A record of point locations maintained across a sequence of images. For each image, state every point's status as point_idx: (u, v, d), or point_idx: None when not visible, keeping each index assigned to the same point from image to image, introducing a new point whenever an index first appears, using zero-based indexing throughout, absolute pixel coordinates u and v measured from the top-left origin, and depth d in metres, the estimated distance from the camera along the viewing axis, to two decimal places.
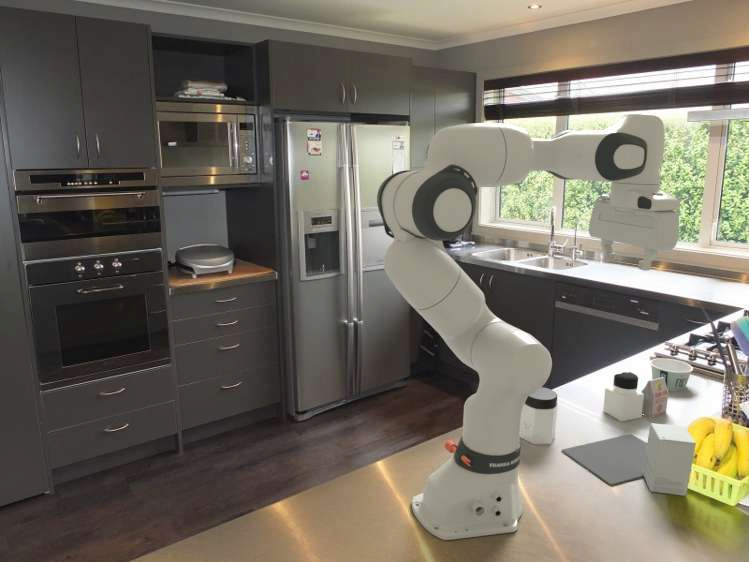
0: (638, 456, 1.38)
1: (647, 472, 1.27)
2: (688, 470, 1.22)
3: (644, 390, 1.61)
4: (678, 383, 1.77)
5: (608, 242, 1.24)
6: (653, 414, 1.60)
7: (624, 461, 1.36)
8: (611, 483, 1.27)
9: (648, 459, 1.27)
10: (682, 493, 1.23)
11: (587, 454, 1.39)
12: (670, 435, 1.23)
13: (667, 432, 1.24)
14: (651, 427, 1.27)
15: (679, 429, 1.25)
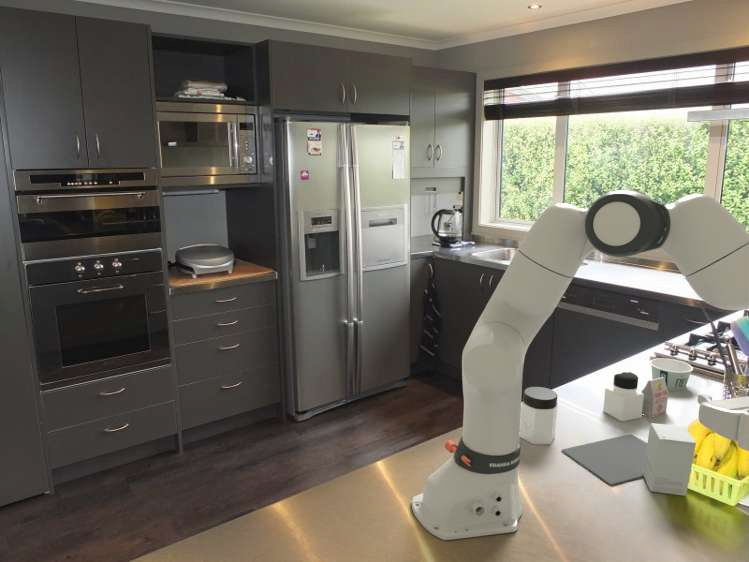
0: (638, 456, 1.38)
1: (648, 472, 1.27)
2: (688, 470, 1.22)
3: (644, 390, 1.61)
4: (678, 383, 1.77)
5: None
6: (653, 414, 1.60)
7: (624, 461, 1.36)
8: (611, 483, 1.27)
9: (648, 459, 1.27)
10: (682, 493, 1.23)
11: (587, 454, 1.39)
12: (670, 435, 1.23)
13: (667, 432, 1.24)
14: (651, 427, 1.27)
15: (679, 429, 1.26)
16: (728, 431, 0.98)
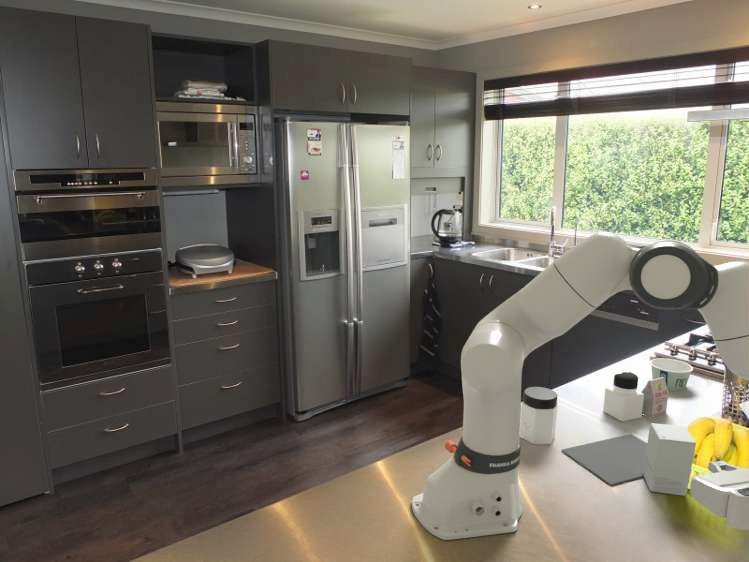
0: (638, 456, 1.38)
1: (648, 472, 1.27)
2: (688, 470, 1.22)
3: (644, 390, 1.60)
4: (678, 383, 1.77)
5: None
6: (653, 414, 1.60)
7: (624, 461, 1.36)
8: (611, 483, 1.27)
9: (648, 459, 1.27)
10: (682, 493, 1.23)
11: (587, 454, 1.39)
12: (670, 435, 1.23)
13: (667, 432, 1.24)
14: (651, 427, 1.27)
15: (679, 429, 1.26)
16: (718, 508, 1.01)
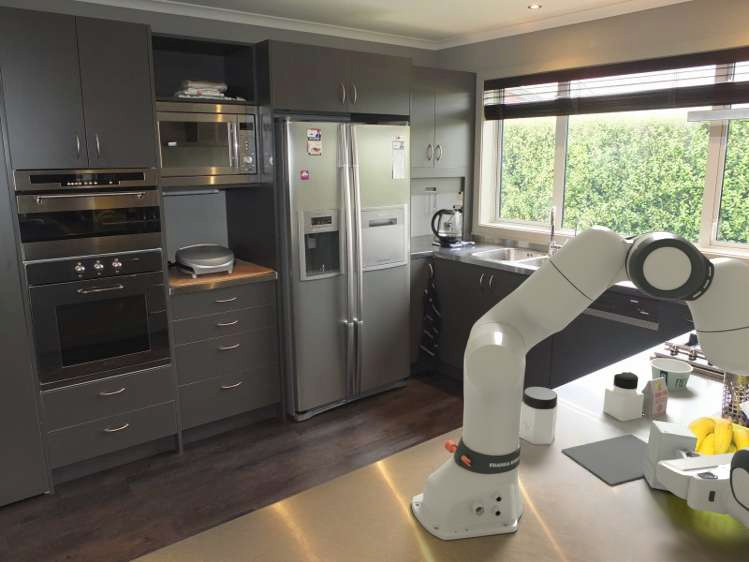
0: (638, 456, 1.38)
1: (648, 469, 1.27)
2: None
3: (644, 390, 1.61)
4: (678, 383, 1.77)
5: None
6: (653, 414, 1.60)
7: (624, 461, 1.36)
8: (611, 483, 1.27)
9: (649, 456, 1.28)
10: None
11: (587, 454, 1.39)
12: (671, 430, 1.24)
13: (669, 428, 1.25)
14: (653, 424, 1.28)
15: (680, 426, 1.27)
16: (680, 490, 1.09)
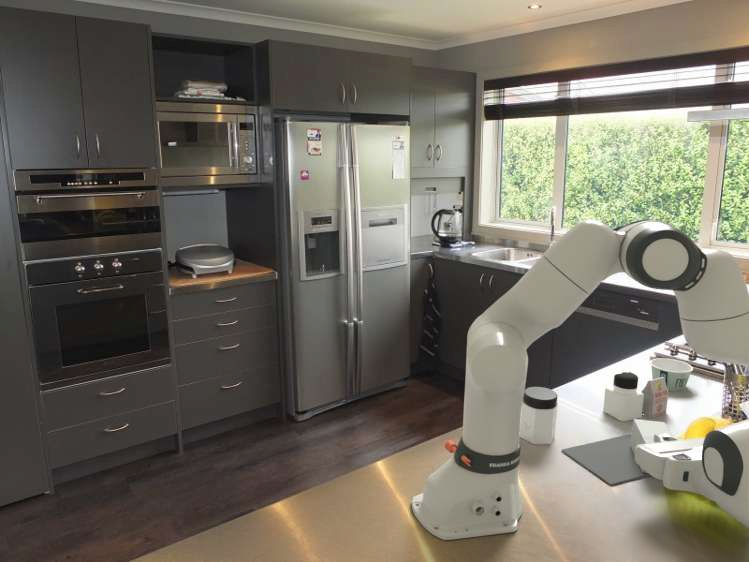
0: None
1: None
2: (670, 434, 1.34)
3: (644, 390, 1.61)
4: (678, 383, 1.77)
5: None
6: (653, 414, 1.60)
7: (624, 461, 1.36)
8: (611, 483, 1.27)
9: None
10: None
11: (587, 454, 1.39)
12: None
13: None
14: (630, 442, 1.42)
15: None
16: (656, 471, 1.16)
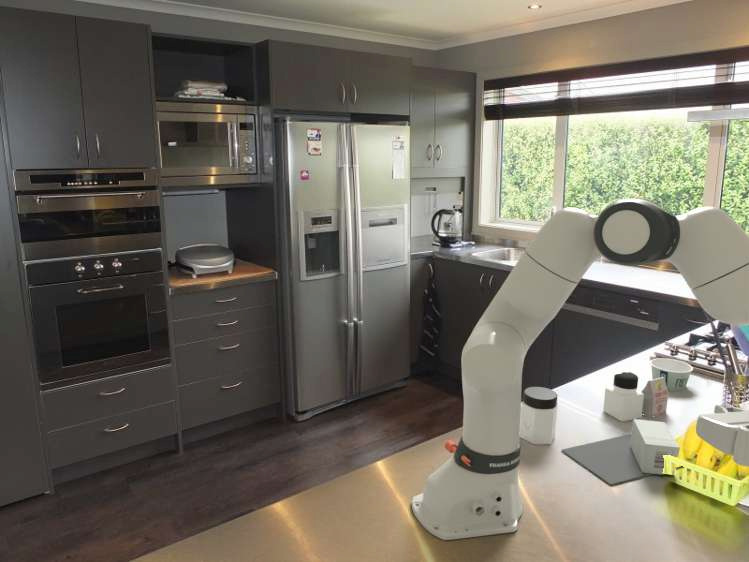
0: None
1: (640, 450, 1.33)
2: (669, 434, 1.34)
3: (644, 390, 1.61)
4: (678, 383, 1.77)
5: None
6: (653, 414, 1.60)
7: (624, 461, 1.36)
8: (611, 483, 1.27)
9: (637, 449, 1.36)
10: (675, 445, 1.29)
11: (587, 454, 1.39)
12: None
13: None
14: (630, 442, 1.42)
15: None
16: (724, 445, 0.98)
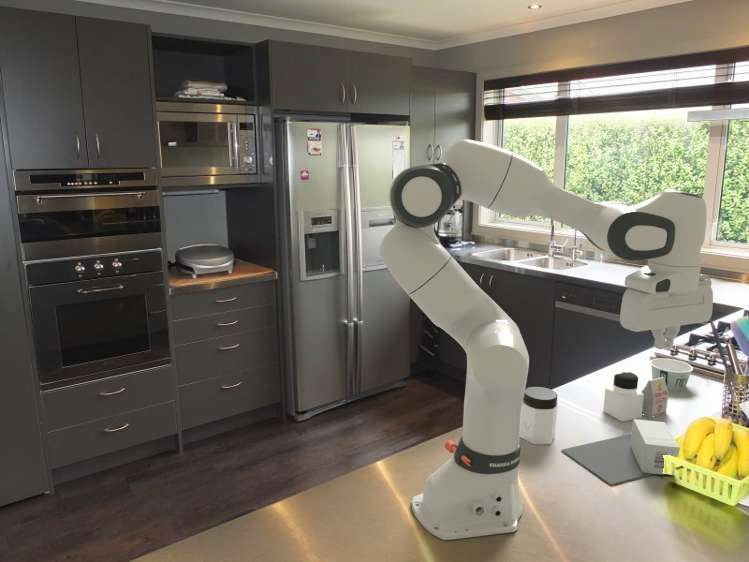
0: None
1: (640, 450, 1.33)
2: (669, 434, 1.34)
3: (644, 390, 1.61)
4: (678, 383, 1.77)
5: (668, 326, 1.12)
6: (653, 414, 1.60)
7: (624, 461, 1.36)
8: (611, 483, 1.27)
9: (637, 449, 1.36)
10: (675, 445, 1.29)
11: (587, 454, 1.39)
12: None
13: None
14: (630, 442, 1.42)
15: None
16: (637, 297, 1.06)
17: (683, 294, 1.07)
